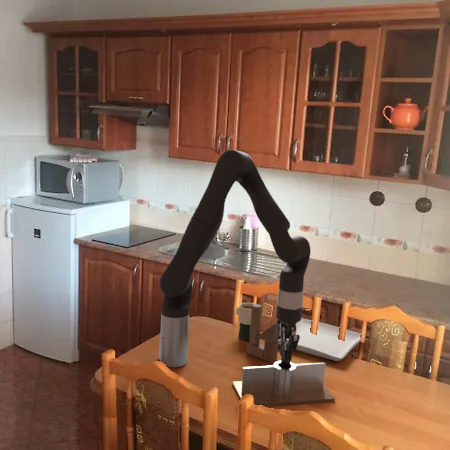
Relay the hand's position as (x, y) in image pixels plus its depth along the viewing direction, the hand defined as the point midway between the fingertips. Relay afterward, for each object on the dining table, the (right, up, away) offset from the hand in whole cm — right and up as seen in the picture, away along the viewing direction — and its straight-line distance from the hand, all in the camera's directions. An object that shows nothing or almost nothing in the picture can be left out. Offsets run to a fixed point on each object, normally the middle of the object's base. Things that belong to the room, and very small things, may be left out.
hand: (285, 358), depth 160 cm
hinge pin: (0, -4, +1) cm, 4 cm away
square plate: (+17, -5, +40) cm, 44 cm away
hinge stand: (-1, -11, +2) cm, 11 cm away
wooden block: (-5, -6, +26) cm, 27 cm away
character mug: (-10, -3, +41) cm, 42 cm away
